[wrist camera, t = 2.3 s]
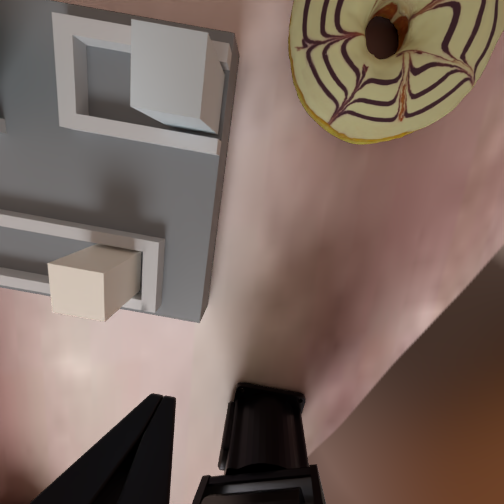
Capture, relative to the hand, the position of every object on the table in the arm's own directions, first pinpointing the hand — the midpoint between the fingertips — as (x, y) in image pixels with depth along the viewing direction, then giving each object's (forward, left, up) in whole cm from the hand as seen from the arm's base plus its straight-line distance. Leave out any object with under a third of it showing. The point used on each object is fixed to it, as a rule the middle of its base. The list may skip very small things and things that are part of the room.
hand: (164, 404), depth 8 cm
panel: (+11, -5, -12) cm, 17 cm away
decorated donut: (-7, -16, -12) cm, 21 cm away
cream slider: (+7, 0, -10) cm, 12 cm away
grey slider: (+3, -11, -10) cm, 15 cm away
